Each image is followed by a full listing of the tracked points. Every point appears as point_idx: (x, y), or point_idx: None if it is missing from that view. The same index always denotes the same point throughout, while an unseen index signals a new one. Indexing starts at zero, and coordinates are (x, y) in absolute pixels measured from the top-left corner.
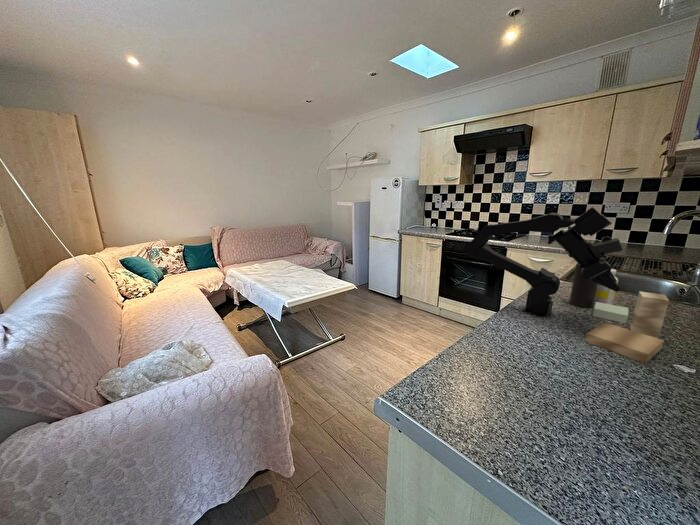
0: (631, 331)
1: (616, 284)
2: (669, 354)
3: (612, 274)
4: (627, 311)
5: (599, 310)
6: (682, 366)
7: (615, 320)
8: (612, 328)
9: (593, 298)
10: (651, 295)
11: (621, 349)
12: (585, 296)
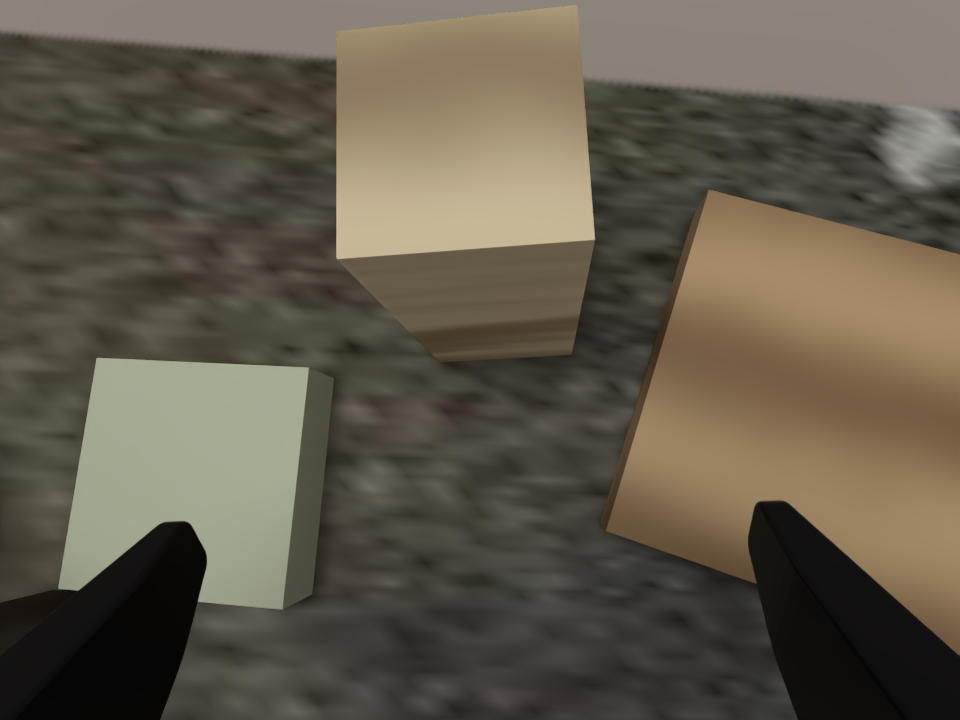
0: (682, 361)
1: (894, 598)
2: (756, 189)
3: (82, 638)
4: (198, 366)
5: (291, 564)
6: (899, 148)
7: (326, 441)
8: (715, 482)
9: (34, 622)
10: (464, 148)
11: None
12: None
